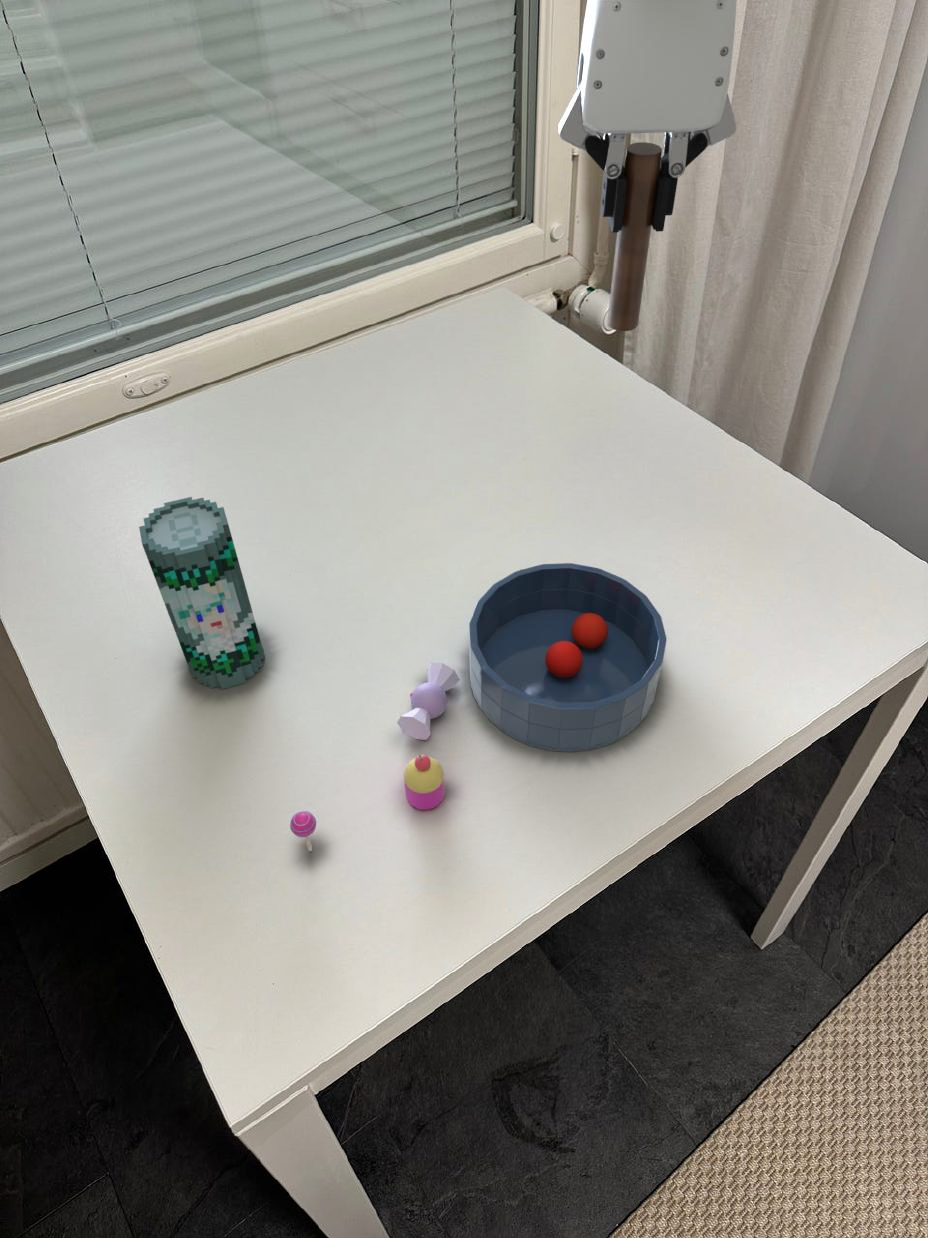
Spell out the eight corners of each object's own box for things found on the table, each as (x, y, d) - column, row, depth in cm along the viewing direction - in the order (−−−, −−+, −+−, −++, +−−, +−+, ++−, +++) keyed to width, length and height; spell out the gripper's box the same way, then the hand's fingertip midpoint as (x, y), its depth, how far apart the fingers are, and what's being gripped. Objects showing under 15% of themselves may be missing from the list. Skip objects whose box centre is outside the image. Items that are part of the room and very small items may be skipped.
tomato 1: (578, 656, 74) (581, 632, 72) (583, 685, 72) (586, 661, 70) (542, 658, 74) (544, 634, 72) (546, 686, 72) (548, 662, 70)
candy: (402, 672, 74) (397, 622, 69) (492, 701, 72) (493, 652, 67) (293, 856, 63) (278, 811, 58) (395, 896, 61) (389, 853, 56)
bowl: (638, 605, 79) (646, 560, 75) (671, 748, 68) (683, 704, 64) (466, 611, 79) (466, 566, 75) (474, 755, 68) (473, 712, 64)
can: (196, 696, 73) (145, 563, 61) (185, 643, 76) (135, 509, 65) (270, 675, 74) (233, 541, 63) (256, 625, 78) (218, 490, 67)
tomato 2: (603, 628, 76) (606, 604, 74) (608, 655, 74) (612, 631, 72) (568, 630, 76) (571, 606, 74) (572, 656, 74) (575, 632, 72)
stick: (635, 315, 77) (658, 141, 67) (640, 331, 75) (664, 154, 65) (605, 316, 77) (624, 142, 67) (609, 331, 75) (629, 155, 65)
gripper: (783, -83, 59) (727, 202, 72) (538, -77, 59) (528, 207, 72) (816, -59, 54) (749, 243, 67) (547, -52, 54) (534, 248, 67)
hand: (634, 222), depth 70 cm, fingers closed on stick, 2 cm apart
